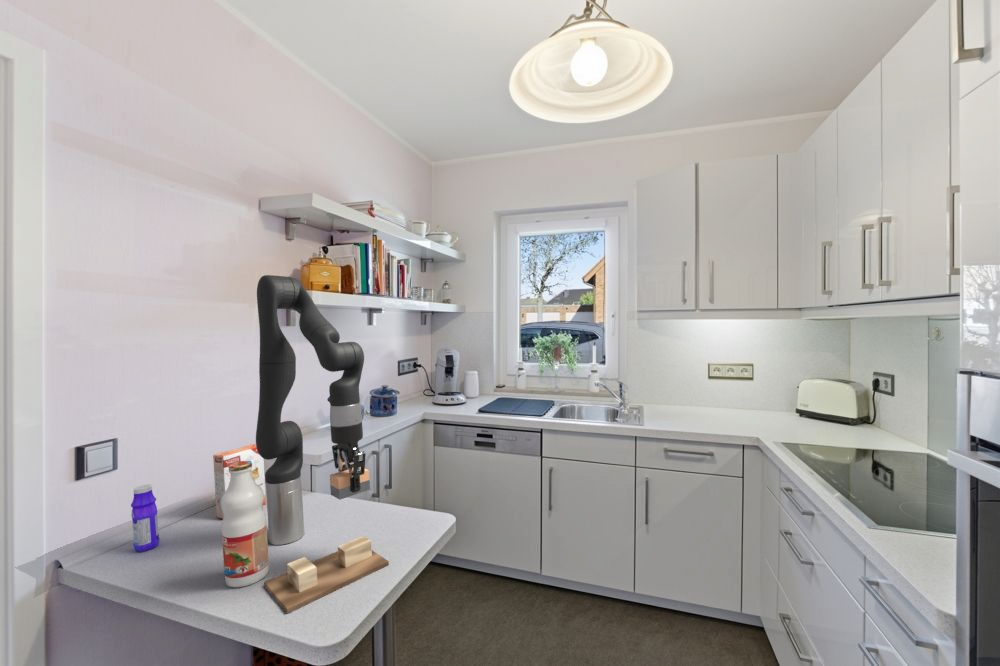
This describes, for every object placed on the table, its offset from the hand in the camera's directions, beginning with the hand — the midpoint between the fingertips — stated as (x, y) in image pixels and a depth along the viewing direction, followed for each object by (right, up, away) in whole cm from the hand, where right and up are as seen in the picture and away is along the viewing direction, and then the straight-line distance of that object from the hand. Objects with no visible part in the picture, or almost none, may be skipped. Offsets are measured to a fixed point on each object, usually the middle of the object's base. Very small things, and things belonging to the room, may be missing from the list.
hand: (350, 488), depth 110 cm
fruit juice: (-24, -21, -3) cm, 32 cm away
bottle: (-63, -22, +15) cm, 69 cm away
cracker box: (-49, -21, +38) cm, 66 cm away
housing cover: (0, +2, 0) cm, 2 cm away
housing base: (0, -1, 0) cm, 1 cm away
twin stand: (-4, -19, -4) cm, 20 cm away
